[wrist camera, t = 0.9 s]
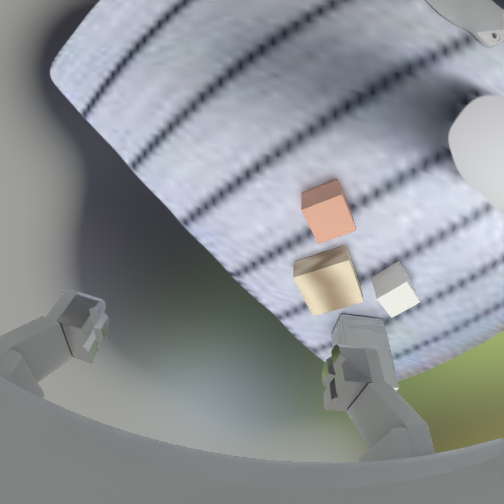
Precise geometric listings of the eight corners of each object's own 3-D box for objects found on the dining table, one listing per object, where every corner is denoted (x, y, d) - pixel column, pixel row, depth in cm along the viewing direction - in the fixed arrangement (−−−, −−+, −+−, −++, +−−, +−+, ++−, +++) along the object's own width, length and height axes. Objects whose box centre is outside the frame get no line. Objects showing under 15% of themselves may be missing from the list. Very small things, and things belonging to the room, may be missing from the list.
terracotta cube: (337, 178, 37) (341, 194, 33) (351, 211, 39) (356, 230, 35) (301, 193, 39) (301, 210, 35) (316, 224, 41) (318, 244, 37)
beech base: (345, 243, 42) (348, 259, 39) (360, 284, 46) (363, 301, 43) (294, 260, 45) (293, 277, 42) (313, 298, 49) (313, 316, 46)
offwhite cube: (398, 260, 42) (406, 281, 38) (412, 280, 44) (419, 301, 40) (371, 276, 45) (376, 298, 41) (386, 295, 46) (391, 317, 42)
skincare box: (331, 334, 53) (332, 406, 40) (341, 310, 49) (346, 387, 37) (373, 339, 52) (382, 409, 40) (386, 317, 49) (400, 390, 37)
